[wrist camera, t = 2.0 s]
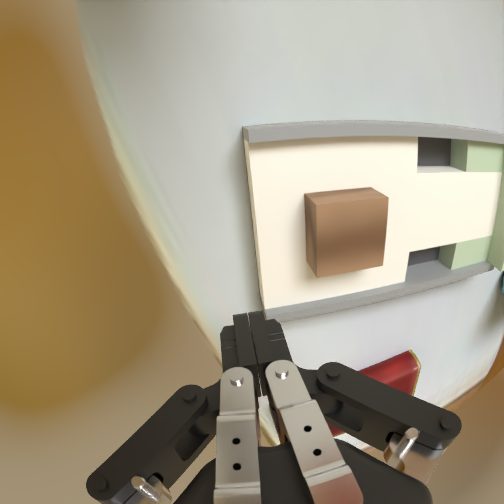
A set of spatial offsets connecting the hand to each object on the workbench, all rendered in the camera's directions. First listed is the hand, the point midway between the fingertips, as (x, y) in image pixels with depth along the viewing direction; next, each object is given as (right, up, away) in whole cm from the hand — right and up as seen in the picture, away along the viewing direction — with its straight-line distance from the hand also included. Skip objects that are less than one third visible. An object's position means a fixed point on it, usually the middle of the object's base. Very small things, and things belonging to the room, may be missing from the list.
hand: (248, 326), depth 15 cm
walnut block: (+7, +6, +10) cm, 14 cm away
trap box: (+15, +9, +13) cm, 22 cm away
